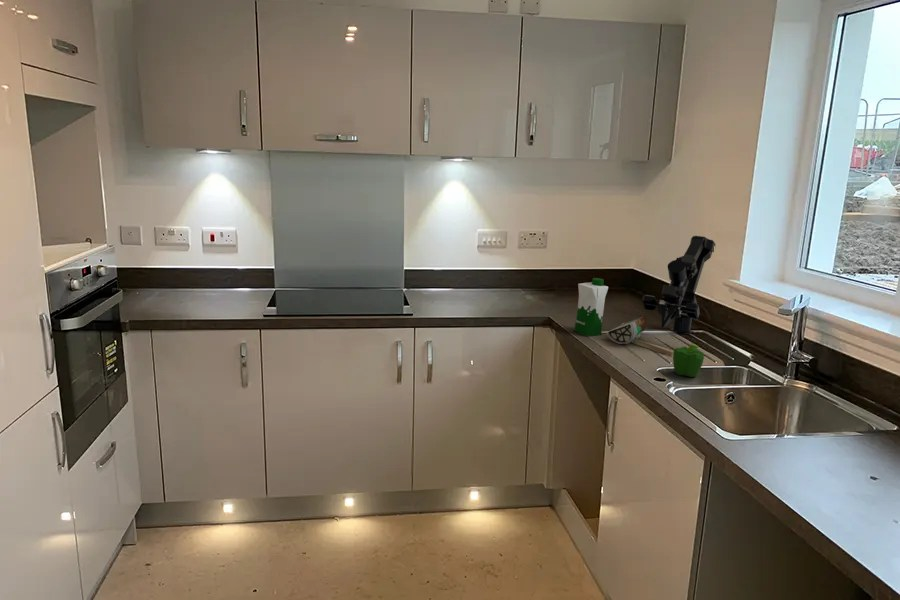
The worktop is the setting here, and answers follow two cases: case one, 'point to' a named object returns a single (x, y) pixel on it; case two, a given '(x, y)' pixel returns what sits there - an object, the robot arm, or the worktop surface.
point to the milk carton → (590, 307)
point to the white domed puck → (637, 335)
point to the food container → (627, 331)
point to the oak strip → (653, 347)
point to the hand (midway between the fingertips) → (663, 326)
